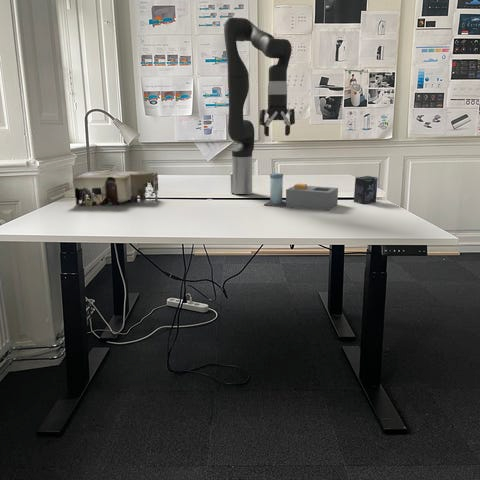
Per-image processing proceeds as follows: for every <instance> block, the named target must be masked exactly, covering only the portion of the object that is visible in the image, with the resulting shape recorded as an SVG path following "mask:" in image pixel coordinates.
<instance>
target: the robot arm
mask: <svg viewBox="0 0 480 480" xmlns="http://www.w3.org/2000/svg"><path fill="white" fill-rule="evenodd" d="M223 35H224V43H225V44H224V45H225V51H226V62H227V63H226V66H227V91H228V123H227V132H228V136H229V139H230V140H232V141H233V142H236V144H235V145H236V146H235V147H234V148H233V149H232V150H231V159H232V160H231V169H232V170H231V171H232V172H231V173H230V194H231V193H234V194H233V195H236V194H248V195H251V194H253V151H254V148H255V127H254V124H253V122H252V121H250V120H248V119H244V107H245V103H246V100H247V98H248V95H249V91H250V90H249V89H250V74H249V71H248V69H247V67H246V64H245V63H244V61H243V59H242V57H241V56H240V54H239V51H238V46H237V42H250V43H251V45H252V46H253V47H254V49H256V50H258V51H261V52H262V54H264V56H265V57H266V58H269V59H277V60H278V61H277V63H276V64H273V65H270V66H269V68H268V85H267V109H264V108H261V109H260V110H259V125H260V126H262V127H263V135H264V136H265V137H269V136H270V124H271V123H272V122H273V121H282V122H283V123H284V125H285V128H284V130H285V131H284V135H285V136H286V137H287V136H290V134H291V126H292V125H295V124H296V120H295V119H296V117H295V113H296V111H295V108H288V82H287V81H288V79H287V78H288V74H287V73H288V68H289V63H290V59H291V55H292V51H293V50H292V49H293V48H292V43H291V42H290V41H289V40H288V39H285V38H275V36H274V35H272V34H270V33H268V32H266V31H264V30H262V29H260V28H259V27H257V26H256V25H255V24H254V23H253V22H251V21H250V20H249V19H248V18H246V17H245V18H244V17H227V18H226V19H225V21H224V26H223ZM287 114H288V115H289V119H288V117H287ZM266 115H268V116H267V118H266V117H265V116H266Z"/></svg>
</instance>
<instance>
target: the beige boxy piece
mask: <svg viewBox="0 0 480 480" xmlns="http://www.w3.org/2000/svg"><path fill="white" fill-rule="evenodd" d="M158 180H159V178H158V172H155V171H153V172H152V171H145V170H144V171H135V170H134V171H116V170H114V171H93V170H92V171H86V172H84V173H82V174H80V175H78V176H74V177H73V178H72V183H73V188H74V189H73V190H74V197H75V206H76V205H77V206H78V207H83V206H84V205H85V206H86V207H87V206H88V207H94V205H95V206H97V207H100V206H99V205H104V206H120V204H121V205H125V203H135V202H136V203H137V202H144V201H147V198H146V196H147V193H148V192H151V193H149V196H148V199H149V200H151V199H152V198H151V197H154V198H155V200H154V202H157V200H158V198H159V197H158V192H159V181H158ZM148 187H150V188H152V190H151V189H149V190H147V188H148ZM154 195H155V196H154ZM138 198H139V201H138ZM77 206H76V207H77Z"/></svg>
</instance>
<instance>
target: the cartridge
mask: <svg viewBox="0 0 480 480" xmlns="http://www.w3.org/2000/svg"><path fill="white" fill-rule="evenodd" d="M283 177H284V174H283V173H280V172H279V173H270V174H269V178H270V180H269V181H270V191H269V192H270V193H269V194H270V195H269V196H270V197H269V198H270V199H269V202H270V203H271V204H282V202H283V194H284V193H283V190H284V189H283V184H284V180H283Z"/></svg>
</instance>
